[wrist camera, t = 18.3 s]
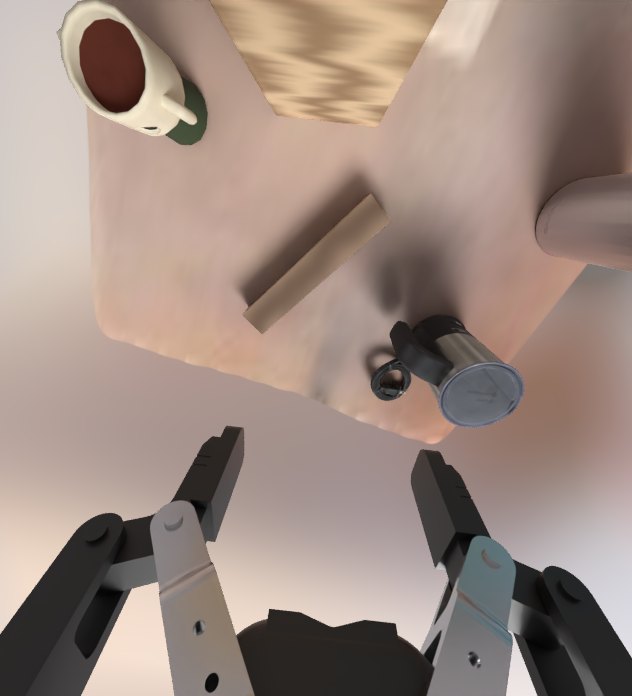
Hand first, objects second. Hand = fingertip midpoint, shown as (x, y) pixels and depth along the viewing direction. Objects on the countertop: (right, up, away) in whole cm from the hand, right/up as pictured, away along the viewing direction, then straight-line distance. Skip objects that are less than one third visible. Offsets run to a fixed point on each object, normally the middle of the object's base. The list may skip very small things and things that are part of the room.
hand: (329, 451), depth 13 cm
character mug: (-16, +33, +21) cm, 42 cm away
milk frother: (+16, +3, +34) cm, 37 cm away
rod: (-1, +17, +28) cm, 33 cm away
